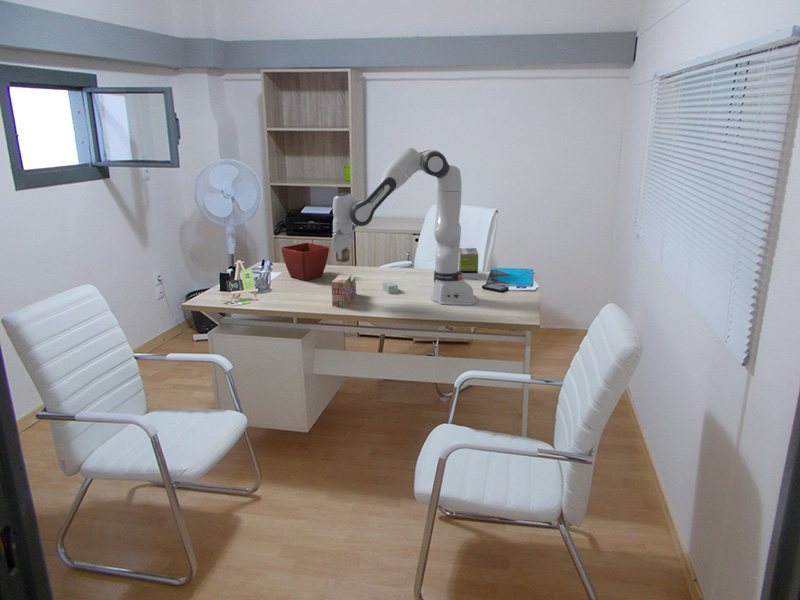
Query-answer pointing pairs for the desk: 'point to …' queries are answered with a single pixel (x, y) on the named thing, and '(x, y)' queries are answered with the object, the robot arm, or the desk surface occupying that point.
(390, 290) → the sage block
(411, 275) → the desk surface
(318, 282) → the desk surface
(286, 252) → the plant pot
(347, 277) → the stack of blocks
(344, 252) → the walnut cube
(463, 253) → the tea box
